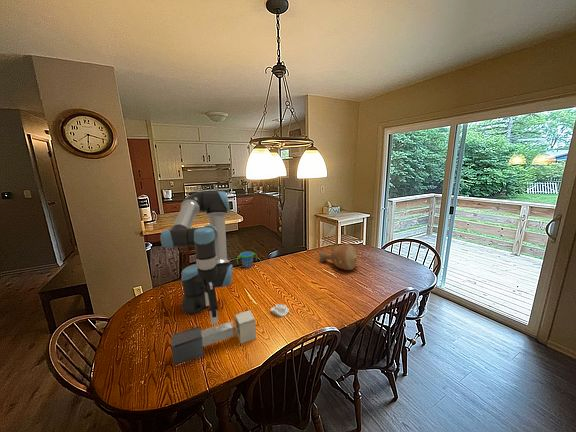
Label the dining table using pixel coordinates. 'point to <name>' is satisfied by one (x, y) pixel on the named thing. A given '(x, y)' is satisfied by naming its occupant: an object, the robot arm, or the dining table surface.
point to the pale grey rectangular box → (218, 333)
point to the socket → (245, 326)
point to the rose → (280, 310)
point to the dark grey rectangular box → (187, 345)
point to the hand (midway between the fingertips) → (211, 313)
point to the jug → (341, 256)
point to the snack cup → (246, 258)
